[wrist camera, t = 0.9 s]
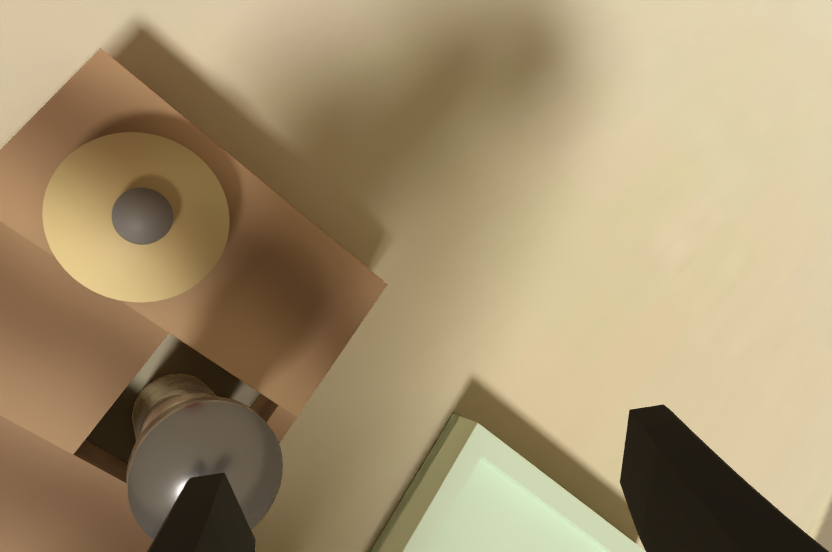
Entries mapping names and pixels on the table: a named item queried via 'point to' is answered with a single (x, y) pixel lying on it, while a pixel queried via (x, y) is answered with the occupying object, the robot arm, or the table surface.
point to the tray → (491, 504)
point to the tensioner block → (142, 294)
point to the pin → (197, 449)
